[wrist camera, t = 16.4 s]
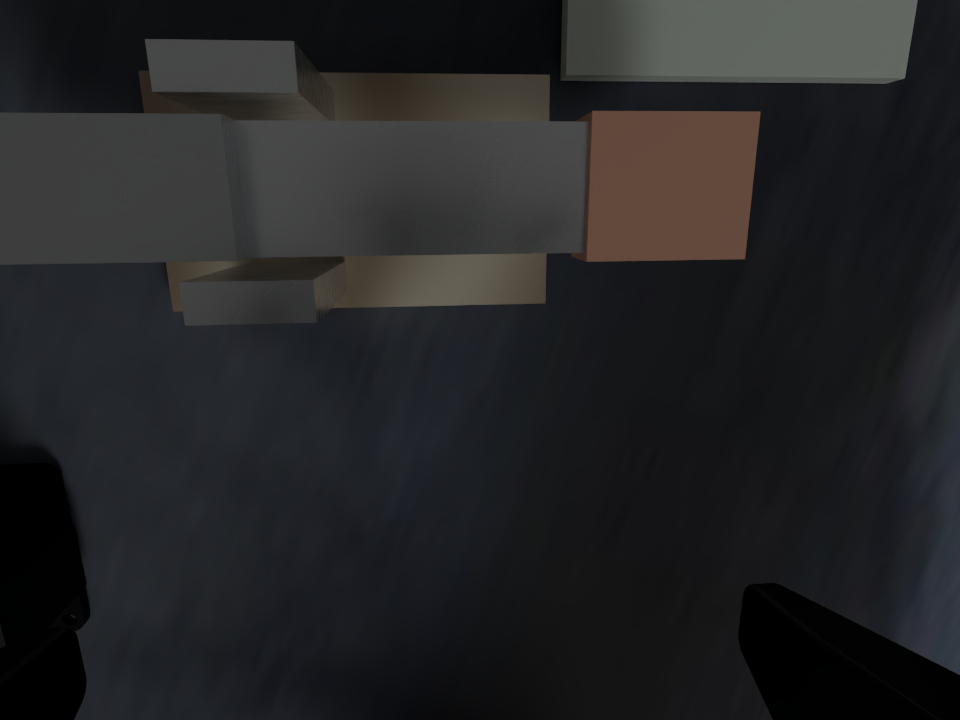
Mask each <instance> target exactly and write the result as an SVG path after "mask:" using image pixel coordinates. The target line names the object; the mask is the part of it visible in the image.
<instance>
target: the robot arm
mask: <svg viewBox="0 0 960 720" xmlns="http://www.w3.org/2000/svg"><path fill="white" fill-rule="evenodd" d="M39 475H42V476H44V477H45V478H46V480H47V483H44V482H43V481H41V480H40V478H39ZM85 586H86V578H85V573H84V569H83V564H82V559H81V554H80V549H79V545H78V540H77V535H76V530H75V526H74V525H73V523H72V521H71V517H70V512H69V507H68V502H67V498H66V493H65V488H64V483H63V478H62V475H61V472H60V470H59V469H58V468H57V467H56V466H53V465H51V464H48V463H32V464H8V465H0V720H74V719H75V716H76V714H77V712H78V710H79V708H80V706H81V703H82V701H83V698H84V695H85V691H86V674H85V669H84V665H83V660H82V655H81V651H80V646H79V642H78V637H77V634H76V632H75V631H77V630H79V629H80V628H82V627H83V625H84V624H85V623H86V622H87V621H88V619H89V617H90V607H89V603H88V598H87V593H86V588H85ZM70 614H72V615H74V616H76V618H73V617H71V616H70ZM738 636H739V644H740V648H741V651H742V654H743V656H744V658H745V660H746V663H747V665H748V667H749V669H750V671H751V673H752V676H753V678H754V680H755V682H756V684H757V686H758V689H759V691H760V693H761V695H762V697H763V699H764V701H765V704H766V706H767V708H768V710H769V712H770V714H771V717H772V719H773V720H960V675H958V674H956V673H954V672H952V671H950V670H948V669H946V668H944V667H942V666H940V665H938V664H936V663H935V662H933V661H931V660H929V659H927V658H925V657H923V656H921V655H919V654H917V653H915V652H913V651H911V650H909V649H907V648H905V647H903V646H901V645H899V644H897V643H895V642H893V641H891V640H889V639H887V638H885V637H883V636H881V635H879V634H877V633H875V632H873V631H871V630H869V629H867V628H865V627H863V626H861V625H859V624H857V623H855V622H853V621H851V620H849V619H847V618H845V617H843V616H841V615H839V614H837V613H835V612H833V611H831V610H829V609H827V608H825V607H823V606H821V605H819V604H817V603H815V602H813V601H811V600H809V599H807V598H805V597H803V596H801V595H799V594H797V593H795V592H793V591H791V590H789V589H787V588H785V587H783V586H781V585H779V584H776V583H765V584H751V585H749V586H747V587H746V589H745V591H744V594H743V600H742V608H741V616H740V624H739V634H738Z"/></svg>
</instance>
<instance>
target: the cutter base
mask: <svg viewBox="0 0 960 720" xmlns="http://www.w3.org/2000/svg"><path fill="white" fill-rule="evenodd" d="M145 44H146V51H147V58H148V65H149V71H138V74H139V81H140V87H141V94H142V101H143V108H144V113H162V114H222V115H224V116H226V117H229V118H231V119H233V120H266V121H549V100H550V75H525V74H424V73H322V72H318V71H317V69H316V68H315V67H314V66H313V64H312V63H311V62H310V61H309V59H308V58H307V57H306V56H305V54H304V53H303V52H302V51H301V49H300V48H299V47H298V46H297V44H296V43H295V42H294V41H252V40H181V39H145ZM166 267H167V274H168V281H169V288H170V295H171V301H172V308H173V312H174V311H183V314H184V321H185V326H187V325H229V324H271V323H313V322H318V321H319V320H320V319H321V318H322V317H323V316H324V315H325V314H326V313H327V312H328V311H329V310H330V309H331V308H355V307H401V306H446V305H491V304H537V303H545V299H546V253H532V254H466V255H400V256H333V257H267V258H247V259H243V260H239V261H204V262H166Z"/></svg>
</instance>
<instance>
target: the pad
mask: <svg viewBox="0 0 960 720" xmlns="http://www.w3.org/2000/svg"><path fill="white" fill-rule="evenodd" d="M916 6H917V0H562V37H561V78H560V81H654V82H764V83H875V84H886V83H890V82H893V81H897V80H900V79H904V78H905V74H906V68H907V62H908V56H909V49H910V43H911V37H912V31H913V25H914V19H915V13H916Z"/></svg>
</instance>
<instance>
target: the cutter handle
mask: <svg viewBox="0 0 960 720" xmlns="http://www.w3.org/2000/svg"><path fill="white" fill-rule="evenodd" d="M759 121H760V112H721V111H591V112H590V113H588V114H587V115H585V116H583V117H582V118H580V119H578V120H577V121H575V122H562V121H266V120H233V119H231V118H229V117H226V116H224V115H222V114H162V113H0V265H10V264H74V263H139V262H204V261H239V260H243V259H247V258H267V257H333V256H400V255H466V254H532V253H571V257H574V258H577V259H580V260H583V261H586V262H595V261H657V260H718V259H745V253H746V244H747V234H748V225H749V216H750V206H751V197H752V187H753V178H754V168H755V159H756V150H757V140H758V131H759Z"/></svg>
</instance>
